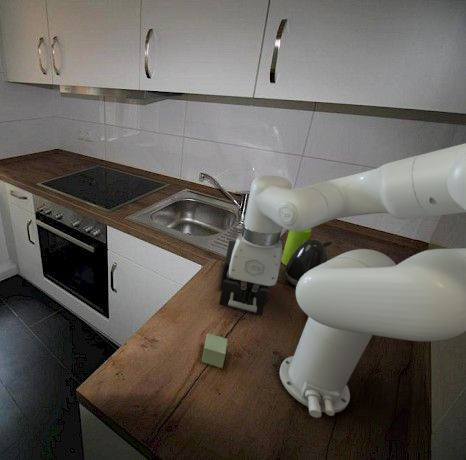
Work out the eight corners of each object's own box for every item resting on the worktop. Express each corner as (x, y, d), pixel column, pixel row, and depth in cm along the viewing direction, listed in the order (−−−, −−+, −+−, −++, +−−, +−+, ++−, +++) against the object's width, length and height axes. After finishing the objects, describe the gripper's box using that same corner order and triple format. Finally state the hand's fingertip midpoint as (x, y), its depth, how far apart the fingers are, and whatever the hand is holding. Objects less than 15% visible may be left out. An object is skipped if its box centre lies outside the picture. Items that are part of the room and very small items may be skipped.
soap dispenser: (291, 270, 101) (309, 214, 92) (276, 258, 107) (292, 205, 98) (306, 267, 102) (325, 212, 93) (291, 256, 108) (307, 203, 99)
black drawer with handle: (261, 328, 77) (268, 304, 74) (216, 316, 81) (221, 293, 77) (262, 287, 92) (268, 265, 88) (223, 279, 95) (228, 257, 92)
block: (222, 368, 68) (225, 354, 66) (201, 361, 70) (204, 347, 68) (224, 352, 72) (227, 338, 70) (204, 346, 74) (207, 332, 71)
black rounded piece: (328, 292, 91) (346, 247, 84) (296, 296, 90) (312, 250, 83) (305, 272, 100) (319, 230, 93) (275, 275, 99) (287, 232, 92)
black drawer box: (263, 300, 88) (271, 272, 84) (219, 290, 92) (224, 262, 88) (264, 274, 99) (271, 248, 95) (224, 265, 103) (229, 240, 99)
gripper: (223, 235, 67) (212, 302, 75) (301, 248, 62) (280, 319, 70) (226, 221, 73) (216, 285, 81) (297, 232, 68) (279, 299, 76)
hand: (245, 300), depth 76 cm, fingers closed
